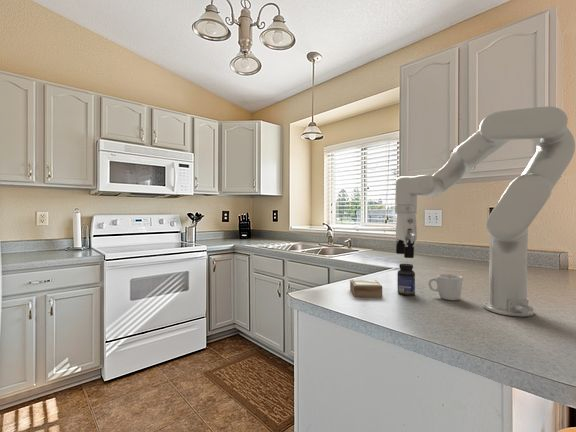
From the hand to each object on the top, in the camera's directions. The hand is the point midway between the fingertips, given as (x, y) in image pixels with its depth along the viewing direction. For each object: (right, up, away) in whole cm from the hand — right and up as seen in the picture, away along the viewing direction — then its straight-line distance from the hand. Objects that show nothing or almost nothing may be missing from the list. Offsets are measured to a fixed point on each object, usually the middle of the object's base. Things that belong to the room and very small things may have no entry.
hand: (404, 255), depth 114 cm
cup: (+12, -15, -6) cm, 20 cm away
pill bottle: (+1, -15, 0) cm, 15 cm away
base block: (-14, -14, +1) cm, 20 cm away
